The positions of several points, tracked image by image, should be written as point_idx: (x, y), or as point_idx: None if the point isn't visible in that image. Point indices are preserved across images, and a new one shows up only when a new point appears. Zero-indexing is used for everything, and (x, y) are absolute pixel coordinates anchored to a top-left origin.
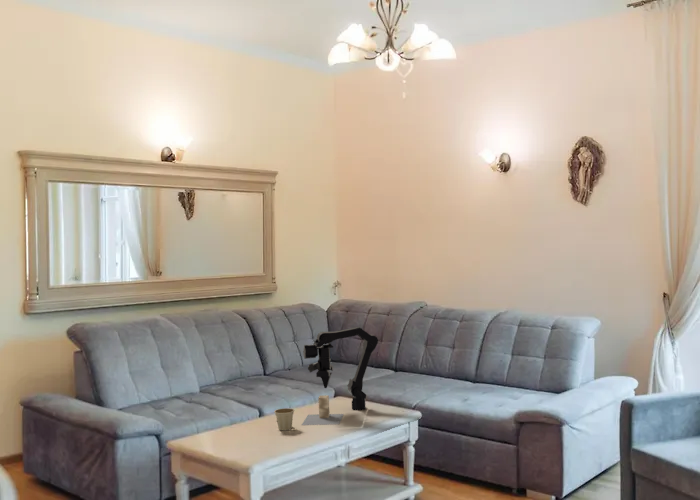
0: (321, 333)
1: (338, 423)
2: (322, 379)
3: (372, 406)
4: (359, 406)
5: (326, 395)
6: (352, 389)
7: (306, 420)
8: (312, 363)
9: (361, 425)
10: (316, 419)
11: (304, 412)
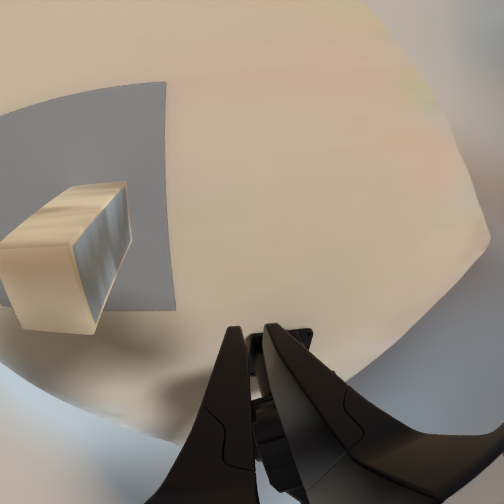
0: None
1: (9, 302)
2: (179, 464)
3: None
4: (256, 373)
5: (84, 317)
6: (257, 443)
7: (22, 121)
8: None
9: (36, 367)
10: (40, 177)
11: (275, 45)
